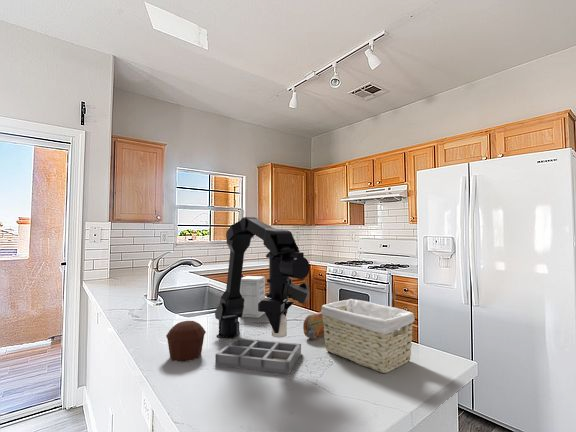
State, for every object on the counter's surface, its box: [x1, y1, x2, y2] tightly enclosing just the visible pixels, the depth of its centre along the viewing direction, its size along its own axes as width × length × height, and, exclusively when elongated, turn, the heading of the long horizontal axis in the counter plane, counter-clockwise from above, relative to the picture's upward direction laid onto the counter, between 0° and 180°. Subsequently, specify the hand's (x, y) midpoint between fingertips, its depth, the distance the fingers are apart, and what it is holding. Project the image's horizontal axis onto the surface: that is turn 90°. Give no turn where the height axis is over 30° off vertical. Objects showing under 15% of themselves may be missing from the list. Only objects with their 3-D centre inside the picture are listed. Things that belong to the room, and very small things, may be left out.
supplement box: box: [240, 275, 266, 319], centre depth 145 cm, size 10×9×17 cm
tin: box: [302, 311, 328, 341], centre depth 116 cm, size 15×3×8 cm, turn 132°
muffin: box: [166, 320, 207, 363], centre depth 97 cm, size 12×11×10 cm
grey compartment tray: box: [214, 337, 302, 375], centre depth 95 cm, size 21×15×3 cm
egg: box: [271, 314, 288, 339], centre depth 90 cm, size 4×4×6 cm
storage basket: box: [320, 298, 415, 374], centre depth 97 cm, size 24×16×15 cm
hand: (278, 330), depth 90 cm, fingers closed on egg, 4 cm apart
